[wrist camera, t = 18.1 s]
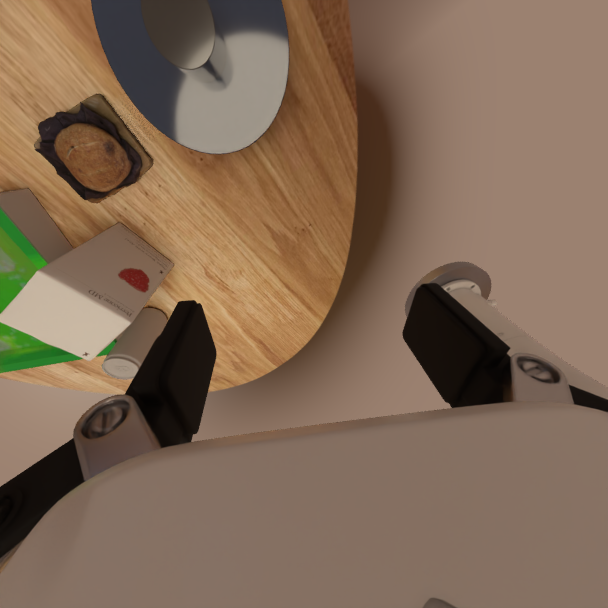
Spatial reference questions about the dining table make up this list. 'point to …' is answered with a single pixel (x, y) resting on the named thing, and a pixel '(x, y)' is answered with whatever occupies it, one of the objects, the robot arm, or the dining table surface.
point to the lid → (199, 66)
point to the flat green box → (27, 275)
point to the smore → (92, 149)
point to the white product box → (89, 293)
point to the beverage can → (134, 344)
